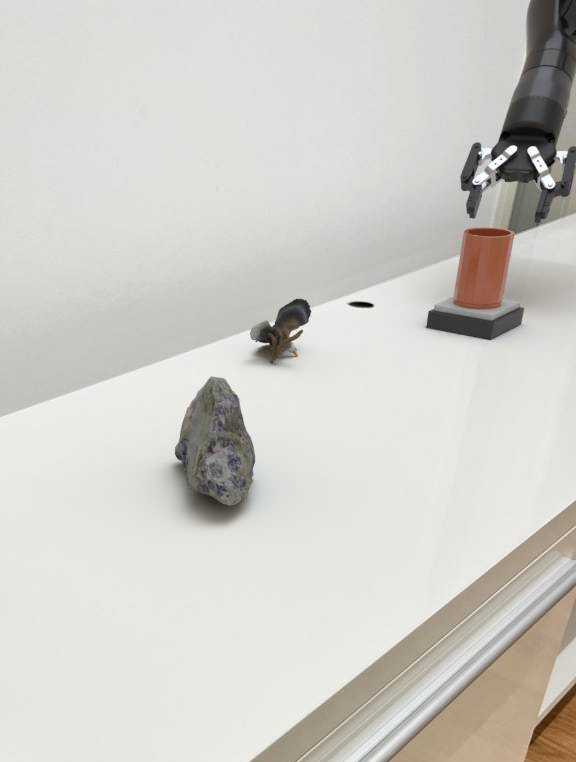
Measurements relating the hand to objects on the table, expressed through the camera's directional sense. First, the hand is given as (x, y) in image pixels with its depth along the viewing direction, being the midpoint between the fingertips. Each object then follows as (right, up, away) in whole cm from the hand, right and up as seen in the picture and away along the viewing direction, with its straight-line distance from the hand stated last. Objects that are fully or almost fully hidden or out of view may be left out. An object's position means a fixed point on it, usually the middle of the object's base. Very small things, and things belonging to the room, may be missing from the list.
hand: (504, 217), depth 139 cm
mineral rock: (-45, -43, -42) cm, 75 cm away
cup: (-4, -12, -1) cm, 13 cm away
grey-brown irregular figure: (-32, -21, -8) cm, 39 cm away
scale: (-4, -15, 0) cm, 15 cm away
